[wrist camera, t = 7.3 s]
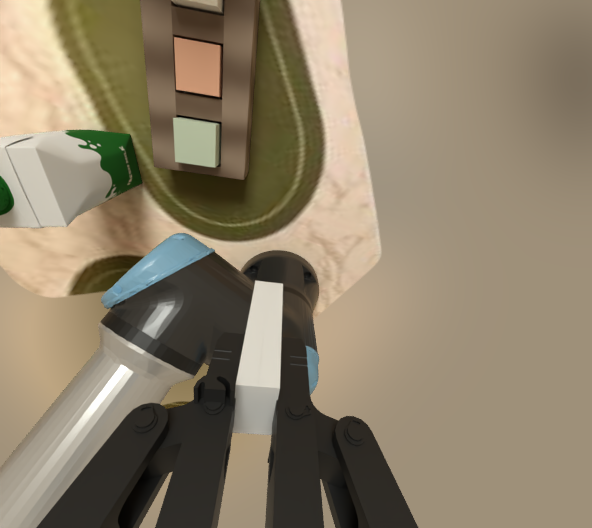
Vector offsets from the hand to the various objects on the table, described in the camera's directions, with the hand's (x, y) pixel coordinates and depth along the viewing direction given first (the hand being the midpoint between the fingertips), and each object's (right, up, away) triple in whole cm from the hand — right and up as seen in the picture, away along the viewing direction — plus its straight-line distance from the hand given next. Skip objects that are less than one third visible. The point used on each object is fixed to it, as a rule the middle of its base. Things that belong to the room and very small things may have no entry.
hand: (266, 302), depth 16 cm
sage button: (-11, +19, +22) cm, 31 cm away
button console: (-10, +27, +22) cm, 36 cm away
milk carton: (-26, +18, +27) cm, 41 cm away
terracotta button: (-10, +26, +20) cm, 35 cm away
